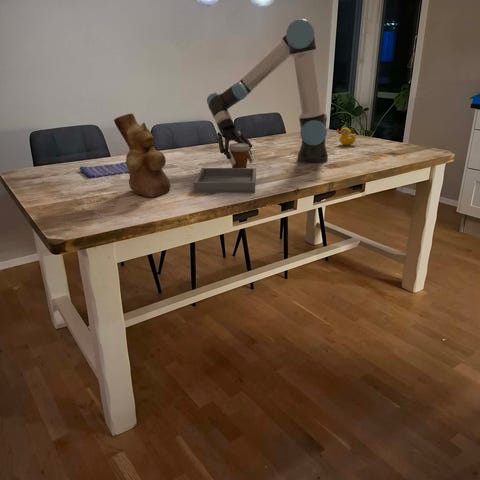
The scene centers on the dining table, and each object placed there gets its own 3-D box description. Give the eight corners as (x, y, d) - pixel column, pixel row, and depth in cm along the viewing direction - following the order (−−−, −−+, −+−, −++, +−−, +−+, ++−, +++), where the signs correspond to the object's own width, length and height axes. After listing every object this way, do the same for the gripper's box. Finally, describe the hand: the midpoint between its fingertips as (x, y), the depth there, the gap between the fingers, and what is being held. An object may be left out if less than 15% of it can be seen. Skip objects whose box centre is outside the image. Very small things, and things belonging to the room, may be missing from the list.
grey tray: (256, 177, 202) (256, 168, 200) (254, 192, 180) (254, 183, 178) (202, 176, 203) (201, 167, 202) (194, 192, 181) (193, 182, 179)
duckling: (334, 144, 268) (335, 127, 264) (337, 143, 272) (338, 126, 268) (353, 146, 263) (355, 128, 259) (356, 144, 267) (357, 127, 263)
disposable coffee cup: (225, 172, 210) (225, 146, 205) (233, 167, 218) (233, 142, 213) (245, 174, 207) (245, 147, 202) (252, 169, 215) (252, 143, 210)
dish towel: (78, 171, 215) (78, 166, 214) (127, 165, 226) (127, 159, 225) (88, 180, 202) (87, 173, 200) (139, 172, 213) (139, 166, 212)
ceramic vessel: (152, 200, 171) (145, 118, 160) (111, 192, 182) (101, 114, 171) (178, 190, 184) (174, 113, 172) (138, 182, 195) (131, 110, 183)
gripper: (241, 126, 223) (259, 164, 217) (201, 130, 212) (219, 170, 206) (247, 116, 217) (266, 155, 210) (206, 119, 206) (225, 161, 200)
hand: (243, 163), depth 208 cm, fingers closed on disposable coffee cup, 9 cm apart
